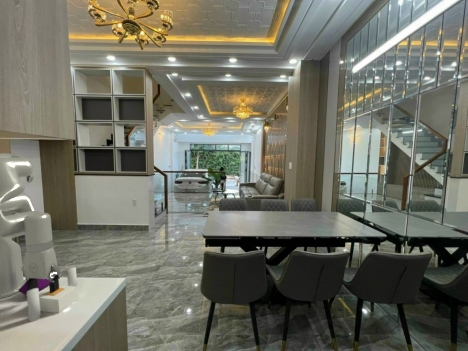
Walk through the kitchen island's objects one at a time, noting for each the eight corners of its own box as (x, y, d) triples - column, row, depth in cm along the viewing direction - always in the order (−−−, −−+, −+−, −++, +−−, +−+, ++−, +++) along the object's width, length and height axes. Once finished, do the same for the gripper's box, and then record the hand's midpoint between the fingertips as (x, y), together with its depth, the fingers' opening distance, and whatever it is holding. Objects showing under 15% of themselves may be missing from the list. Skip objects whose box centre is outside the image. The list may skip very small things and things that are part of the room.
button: (45, 303, 81) (44, 293, 81) (56, 297, 85) (55, 287, 85) (54, 304, 81) (54, 294, 80) (64, 298, 85) (64, 288, 84)
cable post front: (26, 321, 74) (24, 293, 74) (35, 315, 77) (33, 287, 77) (34, 322, 74) (31, 293, 73) (43, 315, 77) (40, 288, 76)
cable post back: (66, 294, 89) (64, 270, 89) (73, 290, 92) (71, 267, 91) (73, 294, 89) (71, 271, 88) (79, 290, 92) (77, 267, 91)
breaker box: (31, 309, 80) (30, 296, 80) (52, 296, 88) (51, 284, 88) (59, 312, 78) (58, 299, 78) (78, 298, 86) (77, 286, 86)
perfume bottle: (52, 288, 94) (49, 247, 92) (35, 299, 86) (31, 255, 85) (37, 287, 94) (33, 247, 93) (18, 298, 87) (14, 254, 86)
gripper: (9, 249, 80) (13, 294, 81) (49, 251, 77) (53, 297, 78) (31, 242, 87) (35, 283, 89) (68, 243, 85) (72, 286, 86)
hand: (43, 290), depth 83 cm, fingers open, 9 cm apart
